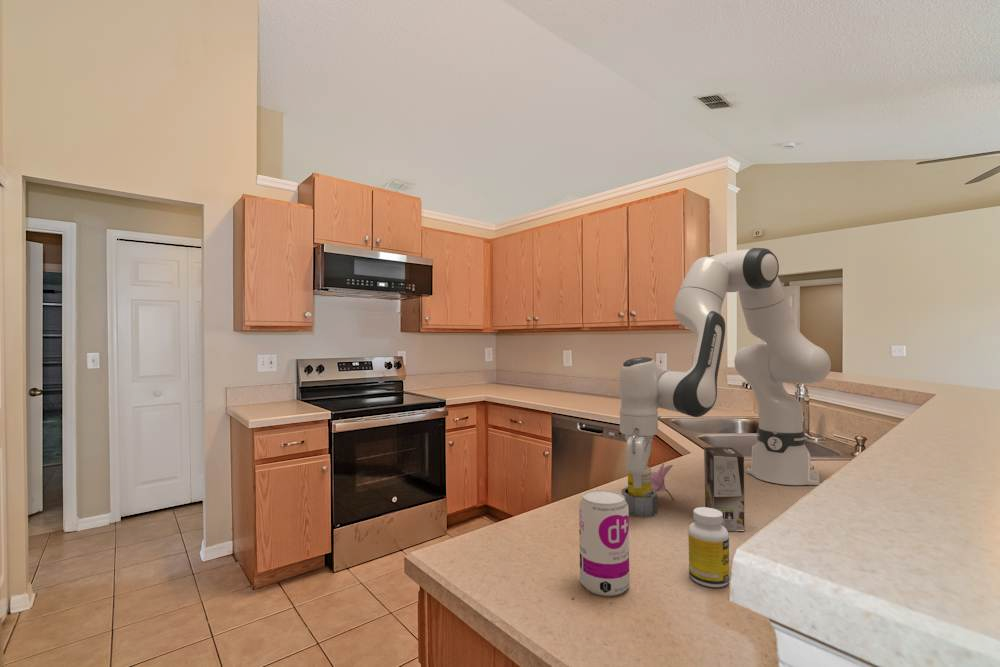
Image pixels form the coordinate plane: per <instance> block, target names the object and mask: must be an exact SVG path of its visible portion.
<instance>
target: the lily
mask: <svg viewBox="0 0 1000 667" xmlns="http://www.w3.org/2000/svg"><path fill="white" fill-rule="evenodd" d="M673 466H674V465H673V464H671V465H670V464H669V465H667V466H665V461H664V462H662V463H661V465H660V467H659V468H658V470H657V472H656V471H651V489H652V490H654V491H656V492H657V493H659V492H660V493H662V492H667V493H668V495H669V496H670V498H671V501H675V500H674V498H673V496H672V494H671V493H670V492H669V490H668V489H667V488H666V484H665V478H666V476H667V474H668V473H669V471H670V470H671V469H672V467H673Z"/></svg>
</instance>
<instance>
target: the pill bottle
mask: <svg viewBox="0 0 1000 667" xmlns="http://www.w3.org/2000/svg"><path fill="white" fill-rule="evenodd" d="M693 520H694V522H692V523H691V524H690V525H689V527H688V529H687V532H688V574H689V576H690V578H691V579H692V580H693V581H694V582H695V583H697V584H700V585H702V586H704V587H709V588H721V587H724V586H726V585H728V584H729V582H730V534H729V531H727V530H726V528H725V527H723V526H722V525H721V523H722V522H723V513H722V512H721V511H719V510H716V509H713V508H707V507H705V506H701V507H696V508H694V509H693Z"/></svg>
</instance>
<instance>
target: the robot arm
mask: <svg viewBox="0 0 1000 667" xmlns="http://www.w3.org/2000/svg"><path fill="white" fill-rule="evenodd" d="M779 264H780V263H779V260H778V257H777V256H776V255H775V254H774V253H773V252H772V251H771V250H770V249H768V248H763V247H752V248H747V249H746V248H745V249H744V248H742V249H734V250H729V251H727V252H722V253H718V254H710V255H707V256H704V257H700V258H698V259H696V260H695V261H694V262H693V264H692V265H691V266H690V267H689V269H688V271H687V273H686V275H685V276H684V278H683V280H682V283H681V284H680V288H679V290H678V293H677V295H676V297H675V300H674V305H673V314H674V316H675V317H676V320H677V321H678V322H679V323H680V325H682V326H683V327H685V328H686V329H688V330H689V331H691V332H694V333H695V334H696V336H697V340H696V341H697V343H696V346H695V351H694V356H693V360H692V365H691V368H690V369H688V370H687V371H677V370H676V371H675V370H669V369H668V368H665V367H662V366H660V365H659V364H658V363H656V362H655V360H654V358H651V357H644V356H643V357H641V356H640V357H634V358H630V359H627V360H625V361H624V362H622V364H621V368H620V373H619V381H618V382H619V384H618V385H619V390H618V392H619V399H620V408H619V432H620V433H621V434H623V435H624V437H625V440H626V449H625V452H626V453H625V469H626V473H627V474H628V473H629V474H632V476H633V482H634V487H635V488H641V487H642V474H643V472H644V469H645V466H646V464H647V458H648V460H649V459H650V456H651V452H652V447H653V446H652V444H653V437H654V436H656V435H658V434H659V416H658V415H659V412H658V409H663V410H667V411H672V412H676V413H680V414H682V415H683V414H684V415H686V416H690V417H693V418H700V417H702V416H704V415H706V414H707V413H708V412H710V411H711V409H713V407H714V405H715V404H716V402H717V397H718V377H719V370H720V364H721V360H722V359H721V358H722V354H723V348H724V342H725V338H726V337H725V336H726V321H725V318H724V317H723V316H722V315H721V313H722V312H721V311H722V306H723V303H724V300H725V297H726V294H727V293H736V292H738V296H739V301H740V305H741V308H742V312H743V315H744V319H745V322H746V327H747V330H748V331H749V333H751V335H753V337H756V338H758V339H760V340H762V341H763V342H764V343H761V344H760V343H759V344H758V343H757V344H751V345H746V346H745V345H744V346H742V347H740V348H739V349H738V350H737V352H736V354H735V357H734V361H733V362H734V368H735V371H736V372H737V373H738V374H739V375H740V377H742V378H743V379H744V380H745V381H746V382H747V383H748V385H749V386H750V387H751V390H752V391H753V393H754V396H755V399H756V403H757V410H758V412H757V413H758V427H757V430H756V437H757V442H756V443H755V444H754V445H752V446H751V447H752V448H751V465H750V467H747V468H746V469H745V473H747V474H749V475H752V476H753V477H755V478H756V479H758V480H761V481H764V482H767V483H768V482H769V483H772V484H777V485H787V486H805V485H808V486H809V485H810V486H819V484H820V485H821V481H820V480H821V479H820V478H821V477H820V469H819V468H815V466H814V465H812V464H811V453H810V451H809V449H808V447H807V446H806V434H805V429H804V418H803V414H804V413H803V412H804V410H803V405H802V403H801V401H800V400H799V399H797V398H796V397H794V396H793V395H791V394H790V393H789V392H788V391H787V390H786V388H785V386H784V383H788V384H802V385H803V384H812V383H813V384H814V383H820V382H823V381H825V379H826V378H827V377H828V376H829V374H830V371H831V368H832V363H831V358H830V355H829V354H828V353H827V351H825V349H824V348H822V347H820V346H818V345H816V344H815V343H813V342H811V341H810V340H809V339H808V338H806V336H804V334H802V333H801V331H800V330H799V329H798V327H796V324H795V323H794V321H793V318H792V315H791V312H790V310H789V307H788V303H787V300H786V299H787V298H786V295H785V291H784V288H783V285H782V283H781V280H780V278H779V276H778V275H779V271H780V268H779V267H780V266H779ZM765 343H766V344H765ZM647 465H648V464H647Z"/></svg>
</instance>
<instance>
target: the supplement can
mask: <svg viewBox="0 0 1000 667" xmlns="http://www.w3.org/2000/svg"><path fill="white" fill-rule="evenodd" d="M578 512H579V513H578V521H579V522H578V523H579V526H578V527H579V530H578V531H579V532H578V533H579V535H578V536H579V579H580V580H579V581H580V582H581V585H583V586H584V588H585V589H586V590H587V591H588V592H590V593H593V594H594V595H598V596H602V597H615V596H619V595H621V594H623V593H625V591H626V590H628V589H629V587H630V530H629V529H630V528H629V524H630V522H629V519H630V518H629V516H630V515H629V512H628V504H627V503H626V501H625V499H624V496H623V495H622V493H620V492H617V491H614V490H609V489H608V490H607V489H595V490H593V489H591V490H589V491H585V492H584V493H583V494H582V497H581V500H580V501H579V504H578Z"/></svg>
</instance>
